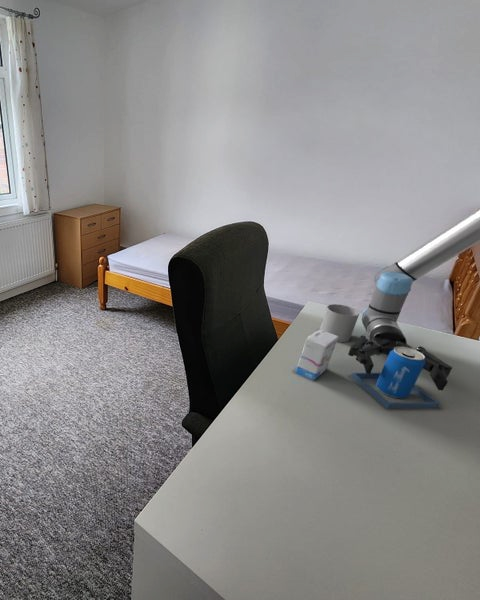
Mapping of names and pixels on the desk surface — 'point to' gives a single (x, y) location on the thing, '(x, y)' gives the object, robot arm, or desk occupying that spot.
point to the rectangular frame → (395, 405)
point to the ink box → (316, 354)
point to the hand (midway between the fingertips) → (405, 377)
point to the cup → (340, 321)
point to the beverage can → (400, 372)
